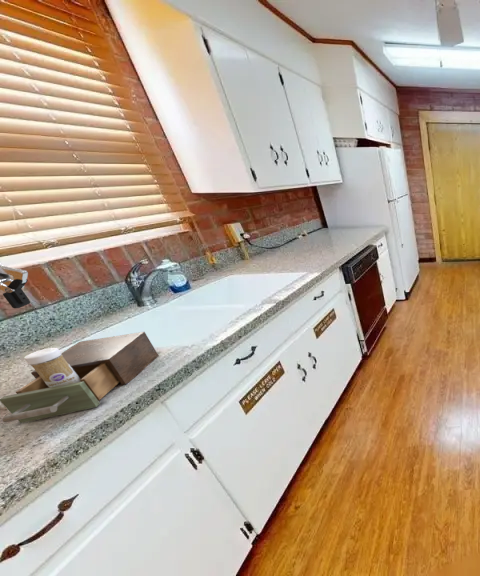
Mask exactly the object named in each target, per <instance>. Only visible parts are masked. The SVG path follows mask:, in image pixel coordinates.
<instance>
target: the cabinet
mask: <svg viewBox="0 0 480 576" xmlns="http://www.w3.org/2000/svg"><path fill="white" fill-rule="evenodd" d="M61 353H62V354H61V355H62V356H63V358H64V359H65V360H66V361H67V363H68V364H69V365H70V366H71V367H72V368H76V367H82V366H88V365H93V364H99V363H105V362H107V364H108V365H109V367H110V368H111V369H112V371H113V372H114V374H115V375H116V377H117V378H118V380H119V381H120V382H119V383H118V384H117V385H116V386H115V387H114V388H119V387H123V386H127V385H128V384H129V383H130V382H131V381H133V380H134V379H135V378H136V377H137V376H138V375H139V374H140V373H141V372H143V371H144V370H145V369H146V368H148V366H149V365H150V364H152V363H153V362H154V361H155V360H156V359H158V358H159V353H158V352H157V350H156V348H155V346H154V345H153V344H152V342H151V340H150V339H149V336H148V335H147V333H146V332H145V331H140V332H134V333H127V334H121V335H120V334H119V335H115V336H114V335H113V336H107V337H101V338H100V337H99V338H95V339H94V338H93V339H88V340H81V341H79V342H77V343H75V344H74V345H72V346H70V347H69V348H67V349H66V350H64V351H63V352H61ZM30 374H31V375H32V376H33V377H34V378H35V379H36V378H38V377H39V376H40V375H39V374H38V373H37V372H36V371H35V369H34V370H32V371H31V372H30Z"/></svg>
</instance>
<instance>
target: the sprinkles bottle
mask: <svg viewBox="0 0 480 576" xmlns="http://www.w3.org/2000/svg"><path fill="white" fill-rule="evenodd" d="M62 353H63V352H61V350H60V349H59V348H58V347H48V348H43V349H39V350H36V351H34V352H31V353H28V354H27V355H25V356H24V358H23V359H24V361H25V362H26V363H27V364H28V365H29V366H30V367H32V368H33V369H34V370H35V371H36V372H37V373H38V374H39V375H40V377H41V378H42V379H43V380H44V382H45V383H46V384H47V385H48V387H49V388H51V387H56V386H61V385H66V384H72V383H77V382H81V381H80V377H79V376H78V375H77V374H76V372H75V371H74V370H73V368H72V367H71V366H70V365H69V364H68V363H67V361H66V360H65V359H64V358H63V356H62V355H61V354H62Z"/></svg>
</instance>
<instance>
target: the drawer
mask: <svg viewBox="0 0 480 576" xmlns="http://www.w3.org/2000/svg"><path fill="white" fill-rule="evenodd" d="M73 370H74V371H75V372H76V374H77V375H78V376H79V377H80V381H81V382H77V383H72V384H66V385H61V386H56V387H51V388H49V387H48V385H47V384H46V383H45V382H44V380H43V379H42V378H41V377H40V376H39V377H38V378H35V379H33V380H31V381H30V382H28V383H27V384H26V385H24V386H23V387H21V388H19V389H18V390H16V391H15V393H14V394H8V395H4V396H2V397H1V398H0V403H1V405H3V406H4V408H6V410H7V411H9V412H10V414H6V415H4V416H3V417H2V418H1V421H2V423H10V422H15V421H18V422H19V423H20V424H25V423H28V422H32V421H33V422H34V421H37V420H43V419H47V418H52V417H56V416H60V415H65V414H70V413H75V412H80V411H85V410H88V409H94V408H98V407H99V405H101V402H100V400H102V399H103V398H104V397H105V396H106V395H107V394H109V392H110V391H111V390H113V389H114V388H116V387H115V386H116V385H117V384H118V383H119V382H120V381H119V380H118V378H117V377H116V375H115V374H114V372H113V371H112V369H111V368H110V367H109V365H108V364H107V362H105V363H99V364H93V365H88V366H82V367H76V368H73Z"/></svg>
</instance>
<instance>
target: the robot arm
mask: <svg viewBox="0 0 480 576" xmlns="http://www.w3.org/2000/svg"><path fill="white" fill-rule="evenodd" d="M11 276H12V277H13V279H11ZM28 276H29V272H28V270H26V269H21V268H16V267H11V266H5V265H3V263H2V262H1V261H0V291H3V293H2V296H3V297H4V298H5V300H6V301H7V302H8V304H9V305H10V307H11V308H12V309H21V308H23V307H25V306H27V305H30V304H31V301H30V299H29V297H28V295H27V294H26V293H25V292H24V291H23V289H24V288H25V285H26V284H27V283H28Z"/></svg>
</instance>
